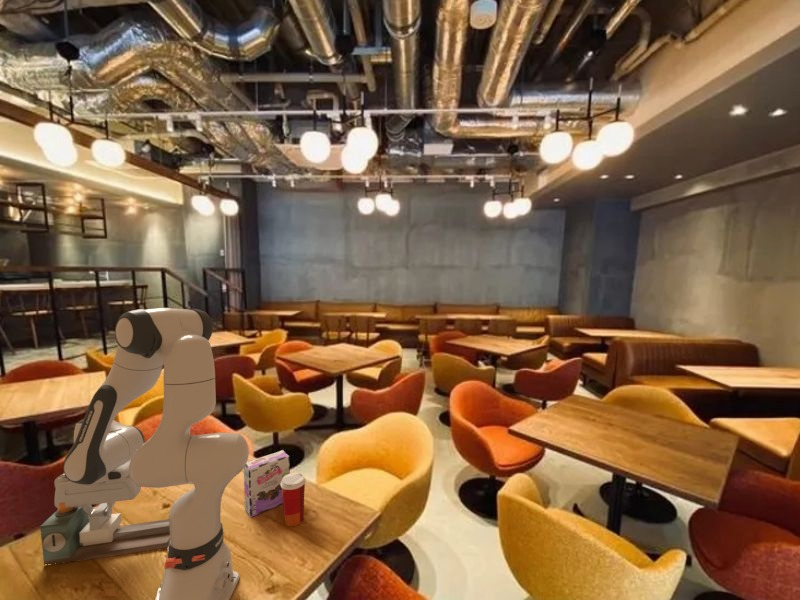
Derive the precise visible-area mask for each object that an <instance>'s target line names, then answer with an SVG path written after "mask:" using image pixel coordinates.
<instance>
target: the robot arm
mask: <svg viewBox="0 0 800 600" xmlns="http://www.w3.org/2000/svg"><path fill="white" fill-rule="evenodd" d="M212 321H213V320H212V319H211V316H209V314H208V313H207V312H206V311H204V310H200V309H197V308H188V309H187V308H170V307H157V308H155V307H154V308H148V309H143V308H142V309H141V308H139V309H135V310H134V309H133V310H130V311H127V312H123V313H122V314H121V315H120V316H119V318H118V319H117V321H116V322H115V327H114V337H115V340H116V344H117V348H116V350H115V354H114V358H113V362H112V363H113V364H112V365H111V369H110V370H109V373H108V374H107V377H106V378H105V380H104V381H103V383H102V384H101V385H100V387H99V388H98V389H97V391H95V393H94V395H93V397H92V398H91V400H90V403H89V405H88V407H87V410H86V413H85V415H84V418H82V419H80V420H79V421H78V422H76V423H75V426H74V433H73V444H72V446H71V447H70V449H69V450H68V452H67V454H66V456H65V458H64V461H63V465H62V469H63V470H62V471H63V474H60V475H58V476H57V477H56V478H55V480H54V482H53V483H54V488H55V491H54V507H55V508H57V509H58V508H59V503H64V502H65V506H66V507H67V508H69V507H77V506H82V508H83V510H84V511H85V512H86V513H87V514H88V519H89V516H90V515H91V514H92V513H93V512H94V511H95V510H96V509H97V508H94V507H93V506H92V505H100V504H103V503H107V506H109V507H108V508H106V509H105V510H104V511H103V514H104V517H106V516H110V515H111V514H113V507H114V506H115V503H116V502H117V503H118V502H123V501H130V500H131V501H132V500H134V499H136V497H138V495H139V494H140V493H141V489H142V488H154V489H155V488H156V489H157V488H159V489H161V488H167V487H168V488H169V487H175V486H182V485H193V486H194V487H193V488H192V489H190V490H188V491H187V492H185V493H183V494H182V495H181V496H180V497H178V498H177V499H176V501H174V503H173V504H172V505H171V508H170V510H169V513H168V519H169V527H170V540H169V545H168V547H167V557H166V558H165V562H164V571H163V577H162V582H161V584H160V586H159V587H158V589H157V590H156V595H155V598H154V600H230V599H231V597H232V595H233V593H234V591H235V589H236V586H237V584H238V582H239V581H240V574H239V572H237V571H235V570H234V569H233V562H232V553H231V548H230V547H229V546H228V545H227V543H225V541H224V528H223V523H222V522H221V508H222V507H221V506H222V505H221V504H222V497H223V495H224V492H225V490H226V487H227V486H228V485H229V483H230V482H231V481H232V480H233V479H234V478H235V477H236V476H238V475H239V474H240V473H241V472H242V471H243V470H244V467H245V465H246V463H247V462H248V461H249V455H250V449H249V444H248V441H247V440H246V438H245V437H244V436H243V435H242V434H241V433H236V432H235V433H232V432H215V433H214V432H213V433H205V434H191V428H192V426H194V425H196V424H197V423H199V422H201V421H203V420H205V419H206V418H207V417H209V416H210V415H212V413H213V412H214V410H215V408H216V405H217V399H216V398H217V397H216V395H217V394H216V369H215V360H214V355H213V354H214V353H213V350H212V346H211V343H210V339H211V337H212V336H213V335H212V334H213V331H214V330H213V328H214V325H213V322H212ZM162 369H163V370H162ZM162 371H163V406H162V415H161V419H160V422H159V424H158V426H157V428H156V429H155V431H154V432H153V434H152V436H150V438H149V439H147V440H146V439H145V435H144V433H143V432H142V430H141V429H140V428H138V427H136V426H134V425H126V424H122V423H121V422H119V421H117V420H115V418H116V417H117V415H118V414H119V413H120V412H121V411H122V410H123V409H124V408H126V407H127V406H128V405H130V404H131V403H132V402H134V401H135V400H137V399H138V398H140V397H141V396H143V395H145V394H146V393H148V392H149V391H150V390H151V389H153V388H154V387H155V385H156V384H157V382H159V381H158V380H159V379H160V376H161V374H162Z"/></svg>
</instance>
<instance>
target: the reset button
mask: <svg viewBox="0 0 800 600" xmlns="http://www.w3.org/2000/svg"><path fill="white" fill-rule="evenodd" d="M74 508H75V507H69V508H67V507H66V506H65V502H64V503H59V508H57V510H58V513H66V512H69V511H71V510H72V509H74Z"/></svg>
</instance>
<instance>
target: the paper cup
mask: <svg viewBox="0 0 800 600" xmlns="http://www.w3.org/2000/svg"><path fill="white" fill-rule="evenodd" d="M306 482H307V481H306V478H305V475H303V474H302V473H300V472H292V473H291V472H290V474H288V475H286V476H284V477H283V479H282V481H281V484H280V485H281V488H282V495H283V504H282V505H283V515H284V521H285V525H286V526H288V527H296V526H298V525H301V523H303V521H304V516H305V515H304V513H305V489H306V488H305V487H306Z"/></svg>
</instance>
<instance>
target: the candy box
mask: <svg viewBox="0 0 800 600" xmlns="http://www.w3.org/2000/svg"><path fill="white" fill-rule="evenodd" d="M290 465H291V464H290V455H288V454H287V453H286V451H284V449H282V450H279V451H277V452H274V453H270V454H267V455H264V456H260V457H258V458H254V459H251V460H247V463H246V465H245V467H244V468H243V487H244V488H243V490H244V491H243V493H244V509H245V511H246V512H247V514H248V516H249V517H250V518H253V517H256V516H257V515H259V514H262V513H265V512H267V511H269V510H272V509H274V508H277V507H279V506H281V505H283V495H282V488H281V485H280V484H281V481H282V479H283V477H284V476H286V475H288V474H291V472H290V471H291V470H290V469H291V467H290Z"/></svg>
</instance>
